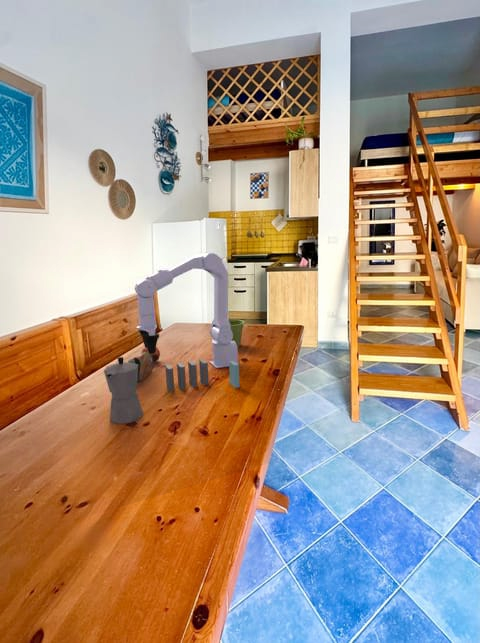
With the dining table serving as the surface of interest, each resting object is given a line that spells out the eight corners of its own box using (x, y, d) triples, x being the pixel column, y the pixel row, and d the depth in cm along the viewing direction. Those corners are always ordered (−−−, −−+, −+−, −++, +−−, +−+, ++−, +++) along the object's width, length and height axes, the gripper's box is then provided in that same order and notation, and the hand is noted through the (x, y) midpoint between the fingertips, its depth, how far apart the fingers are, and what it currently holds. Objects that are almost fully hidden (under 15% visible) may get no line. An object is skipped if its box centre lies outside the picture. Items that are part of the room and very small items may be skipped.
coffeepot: (127, 429, 102) (121, 366, 98) (98, 425, 104) (90, 363, 100) (156, 405, 116) (151, 349, 112) (129, 402, 119) (124, 347, 115)
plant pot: (234, 341, 183) (233, 318, 180) (250, 346, 174) (250, 322, 171) (214, 346, 175) (213, 322, 173) (230, 351, 166) (229, 326, 164)
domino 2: (182, 384, 132) (181, 362, 130) (186, 388, 128) (184, 366, 126) (178, 385, 131) (176, 363, 129) (181, 389, 127) (180, 367, 125)
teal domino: (234, 382, 132) (233, 360, 130) (239, 387, 128) (238, 364, 126) (230, 383, 131) (229, 361, 129) (235, 388, 127) (234, 365, 125)
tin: (137, 384, 133) (135, 361, 131) (129, 383, 134) (126, 361, 132) (154, 369, 147) (153, 348, 145) (147, 368, 148) (145, 348, 146)
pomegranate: (161, 368, 154) (163, 348, 160) (156, 359, 148) (158, 338, 155) (143, 371, 154) (146, 351, 161) (137, 361, 149) (140, 340, 155)
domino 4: (204, 380, 135) (203, 358, 133) (208, 384, 131) (207, 362, 129) (200, 380, 134) (199, 359, 132) (204, 385, 130) (203, 363, 128)
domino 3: (193, 382, 133) (192, 360, 131) (197, 386, 129) (196, 364, 127) (189, 383, 133) (188, 361, 131) (193, 387, 129) (191, 365, 127)
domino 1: (171, 386, 130) (169, 364, 128) (174, 391, 126) (173, 368, 124) (166, 387, 130) (165, 365, 128) (169, 391, 126) (168, 369, 124)
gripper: (132, 311, 139) (135, 346, 142) (138, 318, 126) (142, 357, 130) (151, 309, 142) (154, 344, 145) (159, 316, 129) (162, 354, 132)
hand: (150, 350), depth 138 cm, fingers open, 7 cm apart
